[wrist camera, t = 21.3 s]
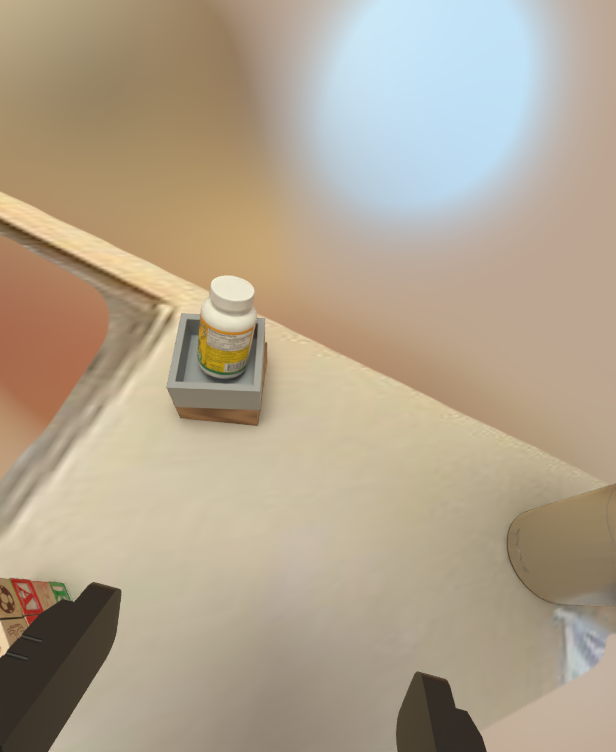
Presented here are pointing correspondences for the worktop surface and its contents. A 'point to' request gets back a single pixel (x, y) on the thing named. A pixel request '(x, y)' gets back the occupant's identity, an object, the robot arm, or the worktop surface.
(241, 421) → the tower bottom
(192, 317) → the tower top
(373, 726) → the worktop surface
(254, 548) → the worktop surface
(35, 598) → the stack of blocks
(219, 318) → the supplement bottle
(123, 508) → the worktop surface
